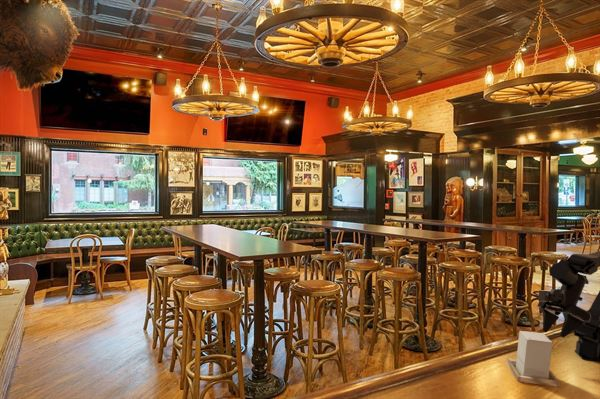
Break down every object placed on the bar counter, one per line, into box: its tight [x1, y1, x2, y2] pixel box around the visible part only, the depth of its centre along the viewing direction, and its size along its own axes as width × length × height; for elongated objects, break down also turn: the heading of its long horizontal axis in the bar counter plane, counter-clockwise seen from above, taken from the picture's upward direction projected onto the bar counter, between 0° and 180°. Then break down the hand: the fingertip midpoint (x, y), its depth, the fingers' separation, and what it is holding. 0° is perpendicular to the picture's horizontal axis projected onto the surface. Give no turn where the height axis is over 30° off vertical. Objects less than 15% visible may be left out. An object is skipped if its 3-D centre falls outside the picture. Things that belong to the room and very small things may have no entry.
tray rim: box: [505, 358, 561, 388], centre depth 129 cm, size 12×12×2 cm
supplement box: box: [515, 330, 553, 380], centre depth 129 cm, size 7×7×13 cm
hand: (552, 334), depth 133 cm, fingers open, 9 cm apart
